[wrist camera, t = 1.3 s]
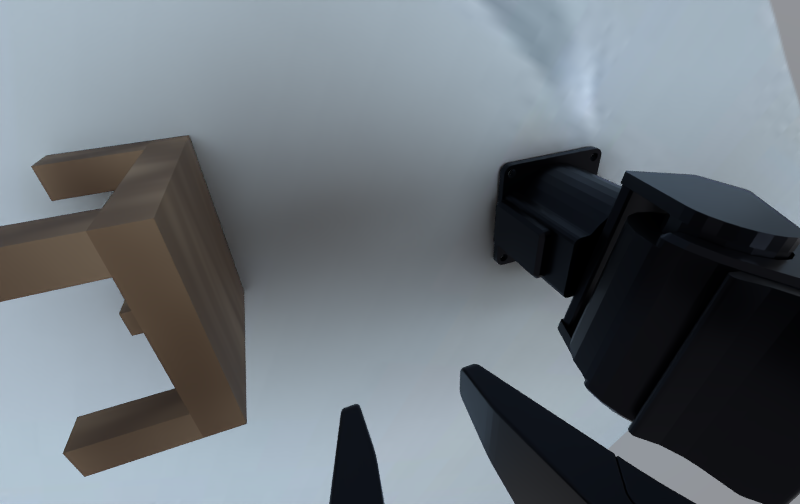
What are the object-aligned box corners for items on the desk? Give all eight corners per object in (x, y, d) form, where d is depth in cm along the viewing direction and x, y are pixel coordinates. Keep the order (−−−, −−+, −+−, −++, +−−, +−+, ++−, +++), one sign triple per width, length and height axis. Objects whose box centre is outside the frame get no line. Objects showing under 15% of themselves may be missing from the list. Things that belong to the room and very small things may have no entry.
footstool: (188, 135, 16) (153, 218, 9) (244, 291, 20) (246, 423, 13) (46, 155, 14) (-111, 268, 8) (138, 317, 19) (84, 476, 12)
